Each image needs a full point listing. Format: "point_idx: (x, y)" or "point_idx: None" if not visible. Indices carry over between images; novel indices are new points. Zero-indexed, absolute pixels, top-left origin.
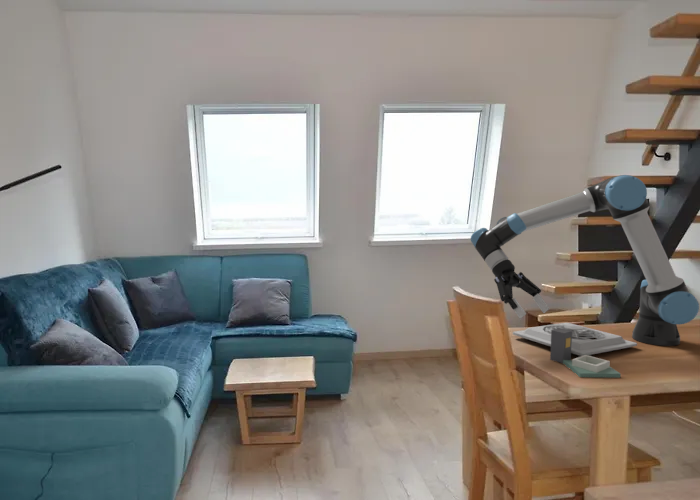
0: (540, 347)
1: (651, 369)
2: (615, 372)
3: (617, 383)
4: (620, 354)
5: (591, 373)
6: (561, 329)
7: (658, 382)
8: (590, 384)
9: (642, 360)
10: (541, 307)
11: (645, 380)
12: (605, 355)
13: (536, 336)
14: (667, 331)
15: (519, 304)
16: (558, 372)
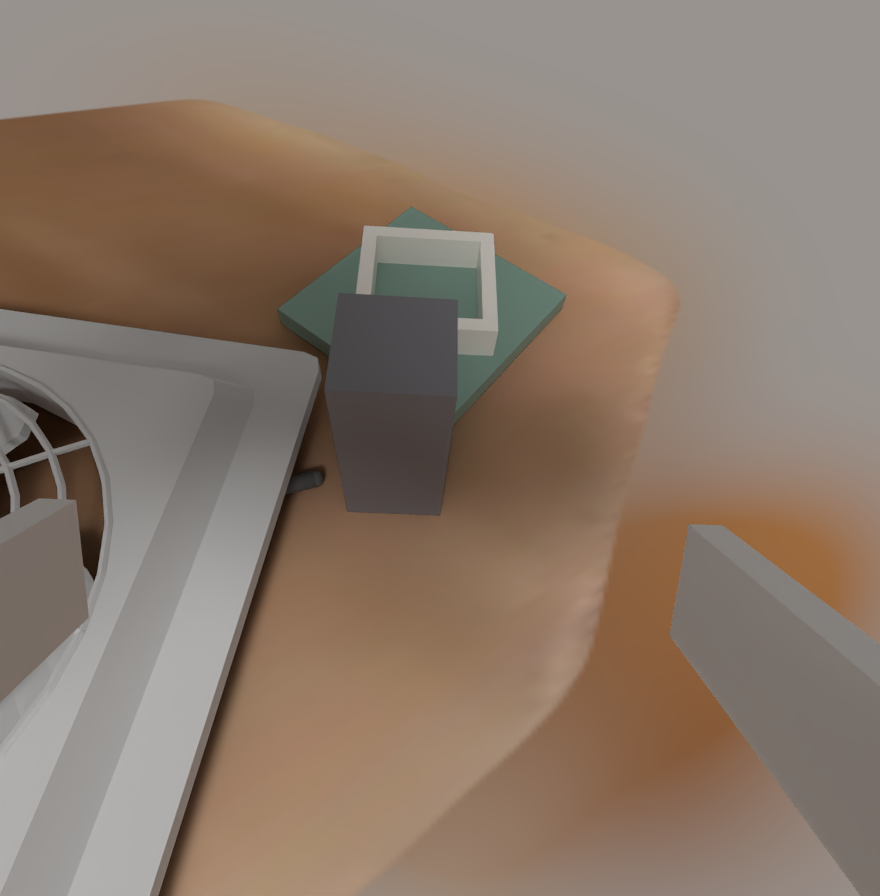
0: None
1: (189, 188)
2: (413, 221)
3: (488, 211)
4: None
5: (519, 268)
6: (361, 357)
7: (345, 145)
8: (596, 258)
9: (60, 236)
10: (27, 638)
11: (361, 170)
12: None
13: (83, 830)
14: None
15: (809, 617)
16: (594, 387)
